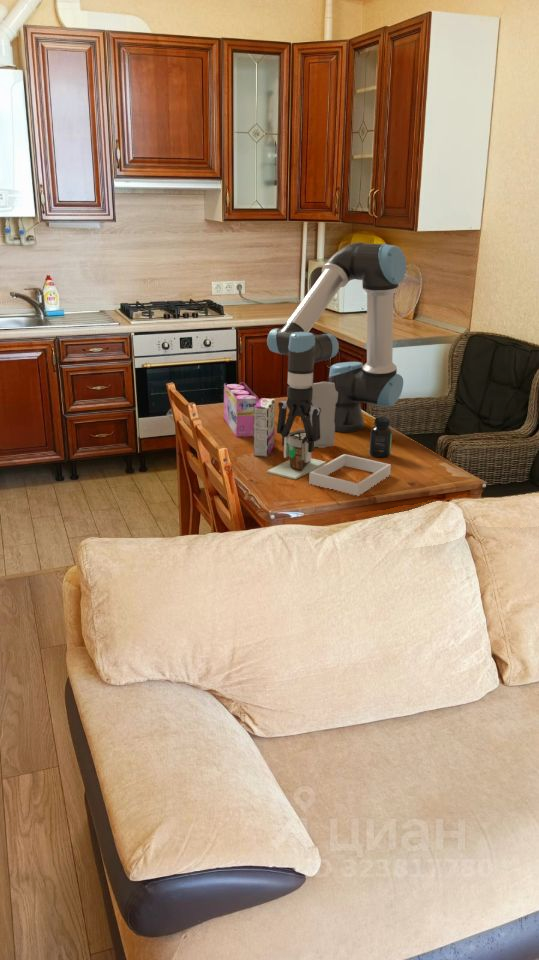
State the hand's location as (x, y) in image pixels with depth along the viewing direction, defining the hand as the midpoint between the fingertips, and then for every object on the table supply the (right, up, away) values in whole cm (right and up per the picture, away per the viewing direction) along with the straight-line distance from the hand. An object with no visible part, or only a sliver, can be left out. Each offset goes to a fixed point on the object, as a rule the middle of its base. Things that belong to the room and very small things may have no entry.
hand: (297, 458), depth 238 cm
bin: (+15, -6, -7) cm, 18 cm away
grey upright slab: (+8, +5, +22) cm, 24 cm away
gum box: (-19, +12, +40) cm, 46 cm away
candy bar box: (-10, +3, +15) cm, 19 cm away
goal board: (0, -3, +1) cm, 3 cm away
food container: (0, -2, +1) cm, 2 cm away
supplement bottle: (+27, +1, +15) cm, 31 cm away
